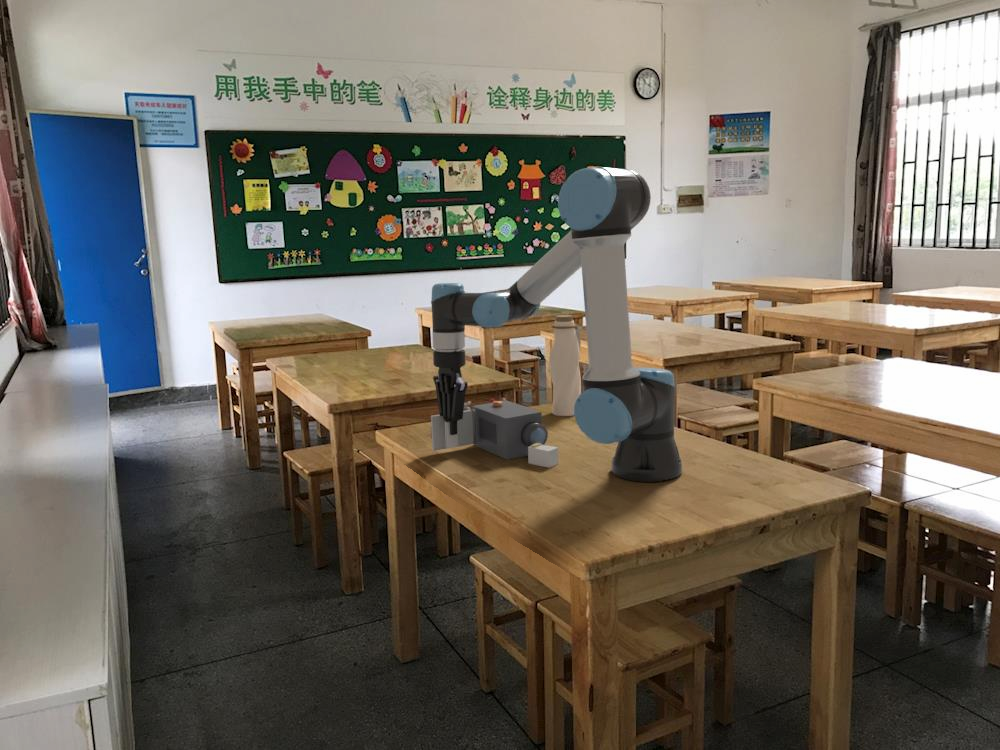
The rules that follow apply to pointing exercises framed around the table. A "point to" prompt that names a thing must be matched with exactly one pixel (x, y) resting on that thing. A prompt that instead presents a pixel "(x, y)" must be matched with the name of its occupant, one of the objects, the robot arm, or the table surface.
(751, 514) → the table surface
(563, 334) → the water bottle
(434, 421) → the side door
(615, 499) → the table surface
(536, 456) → the block
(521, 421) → the grey box
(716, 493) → the table surface
